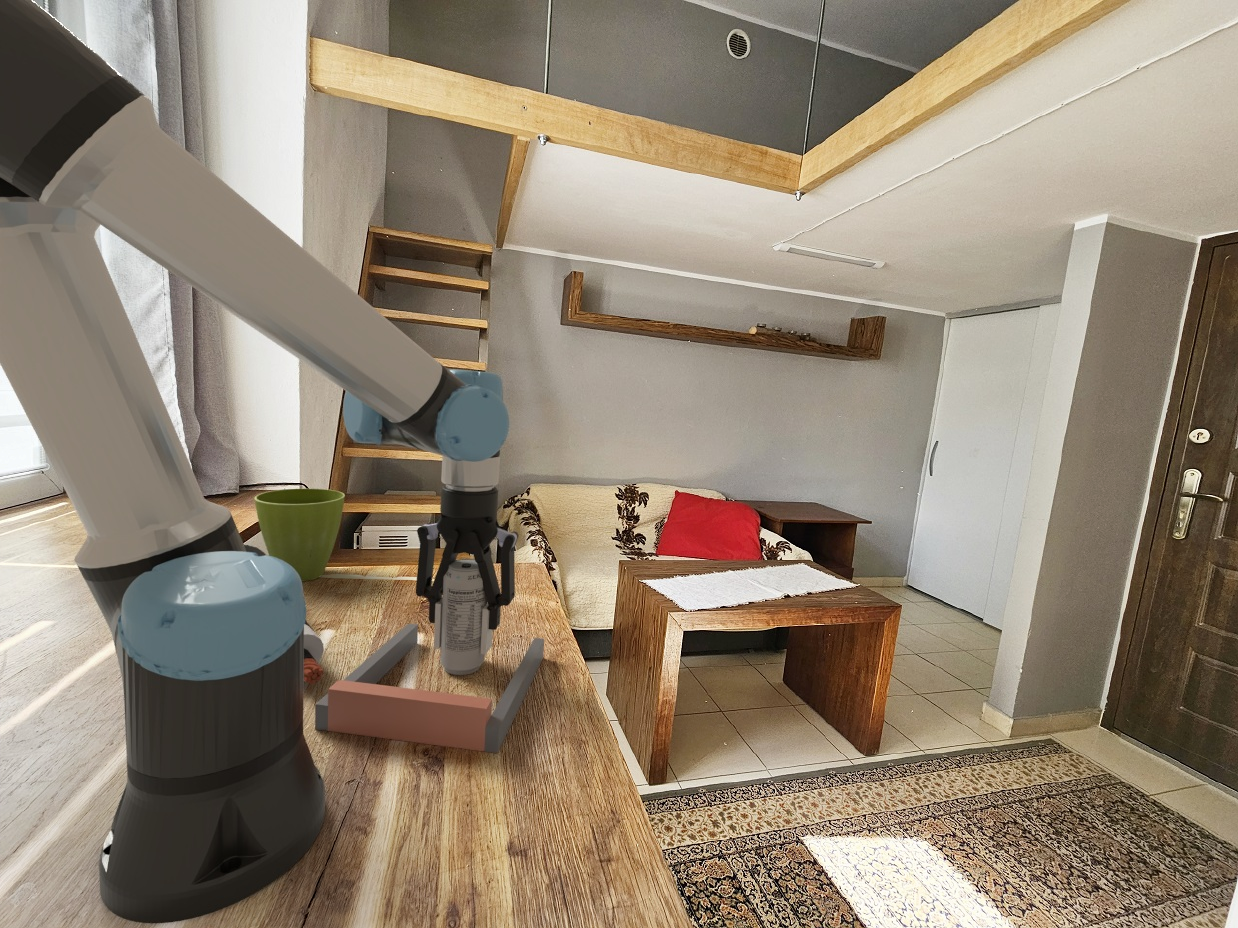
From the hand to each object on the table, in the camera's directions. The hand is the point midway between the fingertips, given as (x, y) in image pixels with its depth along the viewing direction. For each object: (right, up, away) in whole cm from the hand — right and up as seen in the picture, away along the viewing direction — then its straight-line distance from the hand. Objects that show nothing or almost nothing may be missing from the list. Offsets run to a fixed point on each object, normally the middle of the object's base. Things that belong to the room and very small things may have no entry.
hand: (463, 646), depth 76 cm
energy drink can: (0, -3, 0) cm, 3 cm away
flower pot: (-40, +4, +29) cm, 50 cm away
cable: (-29, -1, +2) cm, 29 cm away
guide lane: (-1, -4, -6) cm, 7 cm away
